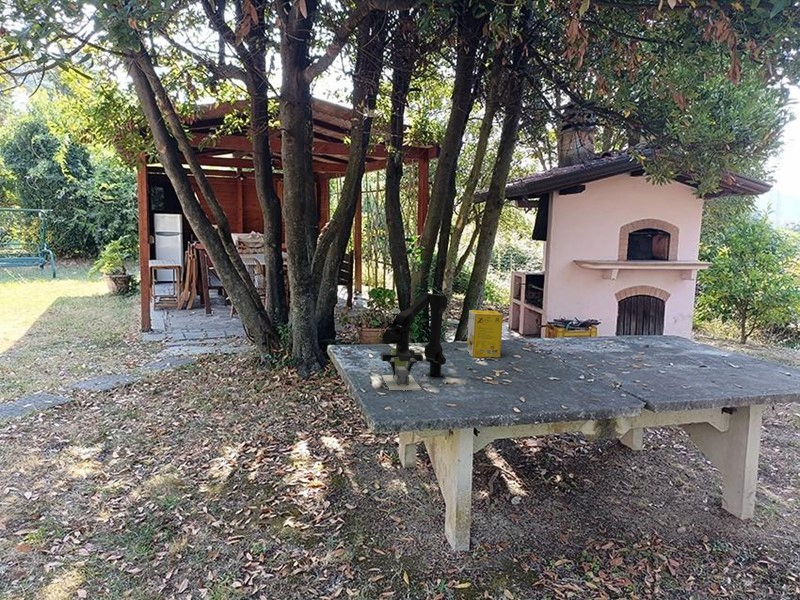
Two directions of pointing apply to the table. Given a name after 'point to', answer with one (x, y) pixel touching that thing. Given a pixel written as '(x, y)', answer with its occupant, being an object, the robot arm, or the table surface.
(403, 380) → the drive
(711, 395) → the table surface
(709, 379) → the table surface
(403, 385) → the peg board
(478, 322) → the packaging box
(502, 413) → the table surface
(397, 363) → the plant pot
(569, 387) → the table surface
